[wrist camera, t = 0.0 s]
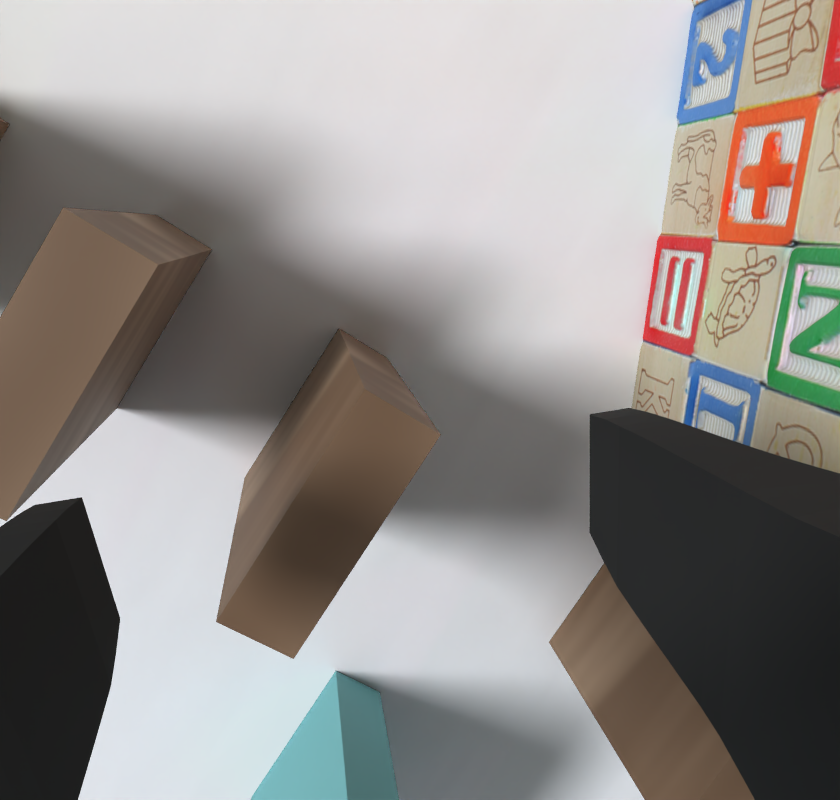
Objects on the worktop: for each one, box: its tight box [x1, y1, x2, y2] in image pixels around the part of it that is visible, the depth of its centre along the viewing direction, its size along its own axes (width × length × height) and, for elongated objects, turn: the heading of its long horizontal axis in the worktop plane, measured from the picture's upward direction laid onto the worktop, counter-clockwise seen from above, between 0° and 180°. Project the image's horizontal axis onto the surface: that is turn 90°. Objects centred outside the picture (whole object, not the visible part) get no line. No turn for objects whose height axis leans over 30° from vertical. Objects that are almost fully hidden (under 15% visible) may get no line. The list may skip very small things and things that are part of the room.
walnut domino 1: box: [0, 207, 212, 521], centre depth 16 cm, size 2×5×8 cm, turn 147°
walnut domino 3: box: [549, 563, 755, 800], centre depth 20 cm, size 2×5×8 cm, turn 147°
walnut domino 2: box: [216, 329, 441, 659], centre depth 17 cm, size 2×5×8 cm, turn 147°
